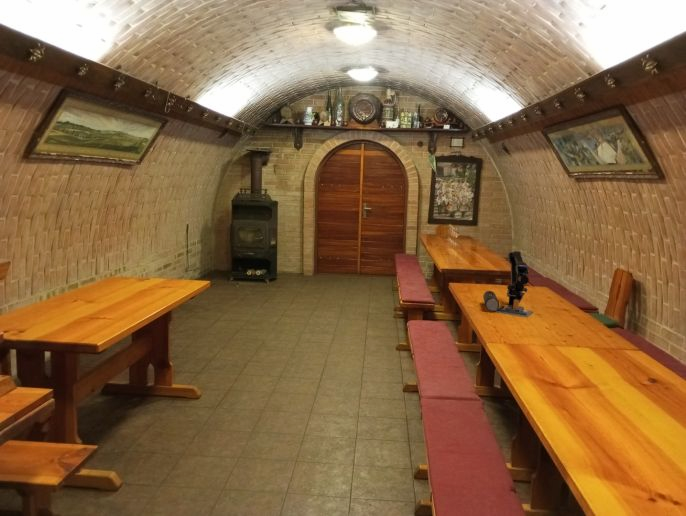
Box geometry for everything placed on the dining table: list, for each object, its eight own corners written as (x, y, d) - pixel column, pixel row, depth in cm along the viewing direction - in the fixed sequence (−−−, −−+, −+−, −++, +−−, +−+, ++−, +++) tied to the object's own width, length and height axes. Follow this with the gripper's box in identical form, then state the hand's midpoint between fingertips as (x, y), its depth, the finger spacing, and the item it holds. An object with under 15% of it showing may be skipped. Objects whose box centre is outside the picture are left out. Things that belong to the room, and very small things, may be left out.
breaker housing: (510, 308, 397) (510, 304, 397) (527, 310, 391) (527, 307, 390) (505, 311, 386) (505, 308, 386) (522, 314, 380) (523, 310, 379)
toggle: (514, 308, 394) (514, 299, 393) (518, 309, 392) (519, 299, 391) (512, 309, 392) (513, 299, 391) (517, 310, 390) (518, 300, 389)
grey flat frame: (502, 306, 400) (502, 305, 400) (531, 311, 390) (531, 309, 389) (496, 310, 388) (496, 308, 388) (526, 315, 377) (526, 313, 377)
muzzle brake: (495, 304, 413) (496, 290, 411) (499, 313, 385) (499, 298, 384) (482, 303, 414) (483, 290, 413) (484, 312, 387) (485, 297, 386)
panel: (502, 307, 402) (502, 306, 401) (533, 313, 390) (533, 311, 390) (495, 312, 388) (495, 310, 388) (527, 317, 377) (527, 315, 377)
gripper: (512, 278, 406) (510, 299, 408) (505, 281, 391) (503, 303, 393) (528, 280, 400) (526, 301, 403) (521, 283, 385) (519, 306, 387)
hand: (518, 303), depth 396 cm, fingers closed
